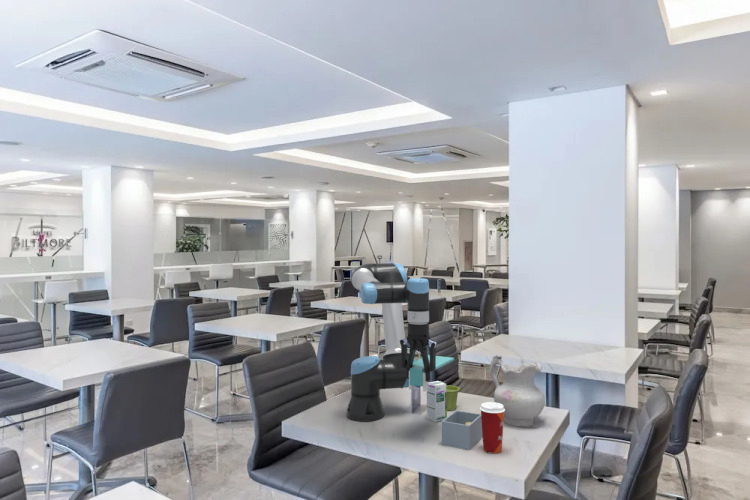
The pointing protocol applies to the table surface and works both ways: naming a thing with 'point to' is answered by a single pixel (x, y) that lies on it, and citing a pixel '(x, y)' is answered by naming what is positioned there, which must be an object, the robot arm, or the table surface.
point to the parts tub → (462, 429)
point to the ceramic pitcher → (518, 392)
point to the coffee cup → (492, 426)
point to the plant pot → (451, 397)
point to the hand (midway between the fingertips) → (418, 389)
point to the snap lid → (418, 369)
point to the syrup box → (436, 401)
